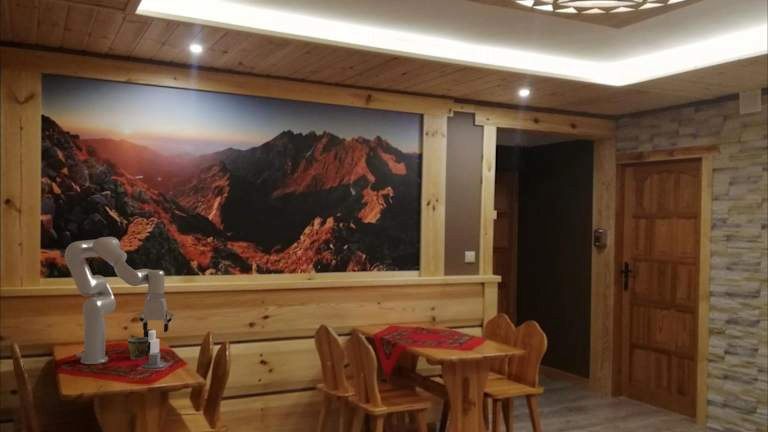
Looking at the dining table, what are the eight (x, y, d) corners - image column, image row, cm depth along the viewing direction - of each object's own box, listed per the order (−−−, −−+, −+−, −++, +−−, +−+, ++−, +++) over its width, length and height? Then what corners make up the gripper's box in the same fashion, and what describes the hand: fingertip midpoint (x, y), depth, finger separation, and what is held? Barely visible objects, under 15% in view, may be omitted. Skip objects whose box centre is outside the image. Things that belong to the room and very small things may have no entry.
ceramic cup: (128, 356, 344) (128, 337, 344) (149, 356, 347) (149, 336, 346) (125, 363, 332) (125, 342, 331) (146, 362, 334) (147, 342, 334)
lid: (138, 368, 321) (139, 356, 320) (147, 362, 332) (147, 350, 331) (162, 369, 321) (162, 356, 320) (169, 363, 332) (169, 351, 331)
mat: (136, 370, 320) (136, 369, 320) (145, 363, 333) (145, 362, 333) (163, 371, 320) (163, 370, 320) (172, 364, 333) (172, 363, 333)
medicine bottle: (139, 353, 351) (139, 330, 351) (148, 350, 358) (149, 328, 357) (150, 355, 348) (150, 332, 348) (159, 352, 355) (159, 329, 355)
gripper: (135, 296, 321) (134, 332, 322) (171, 297, 321) (171, 333, 322) (140, 294, 329) (140, 329, 329) (176, 295, 328) (176, 330, 329)
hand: (155, 331), depth 325 cm, fingers open, 9 cm apart
